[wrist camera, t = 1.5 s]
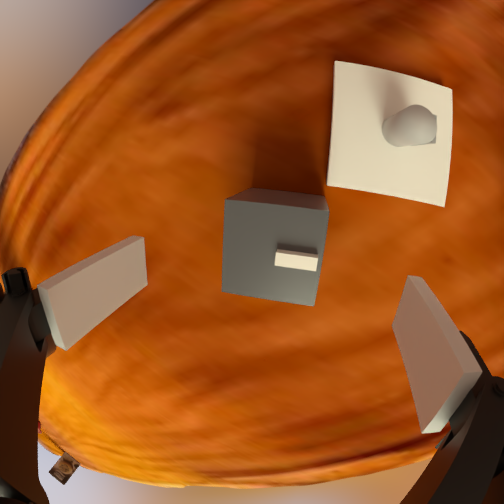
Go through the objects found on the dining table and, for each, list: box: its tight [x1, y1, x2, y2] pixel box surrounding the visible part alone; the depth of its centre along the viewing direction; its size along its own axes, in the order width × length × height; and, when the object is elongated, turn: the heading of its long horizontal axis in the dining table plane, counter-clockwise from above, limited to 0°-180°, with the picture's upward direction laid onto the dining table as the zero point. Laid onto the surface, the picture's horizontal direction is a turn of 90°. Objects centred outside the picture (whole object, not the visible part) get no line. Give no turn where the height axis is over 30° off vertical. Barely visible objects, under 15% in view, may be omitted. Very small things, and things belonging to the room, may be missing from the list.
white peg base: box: [326, 61, 452, 207], centre depth 15 cm, size 10×10×6 cm
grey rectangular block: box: [222, 188, 329, 306], centre depth 19 cm, size 6×6×8 cm
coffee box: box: [49, 452, 80, 485], centre depth 69 cm, size 9×6×16 cm
